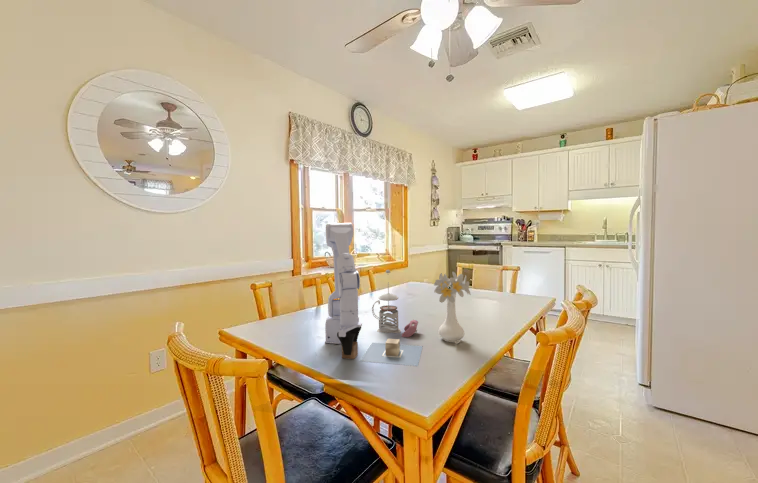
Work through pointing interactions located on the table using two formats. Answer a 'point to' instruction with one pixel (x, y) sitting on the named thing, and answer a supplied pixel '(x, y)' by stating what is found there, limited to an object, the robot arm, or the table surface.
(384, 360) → the board
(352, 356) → the walnut block
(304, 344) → the table surface
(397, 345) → the birch block
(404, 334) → the video game controller
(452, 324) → the flower vase
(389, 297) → the french press
